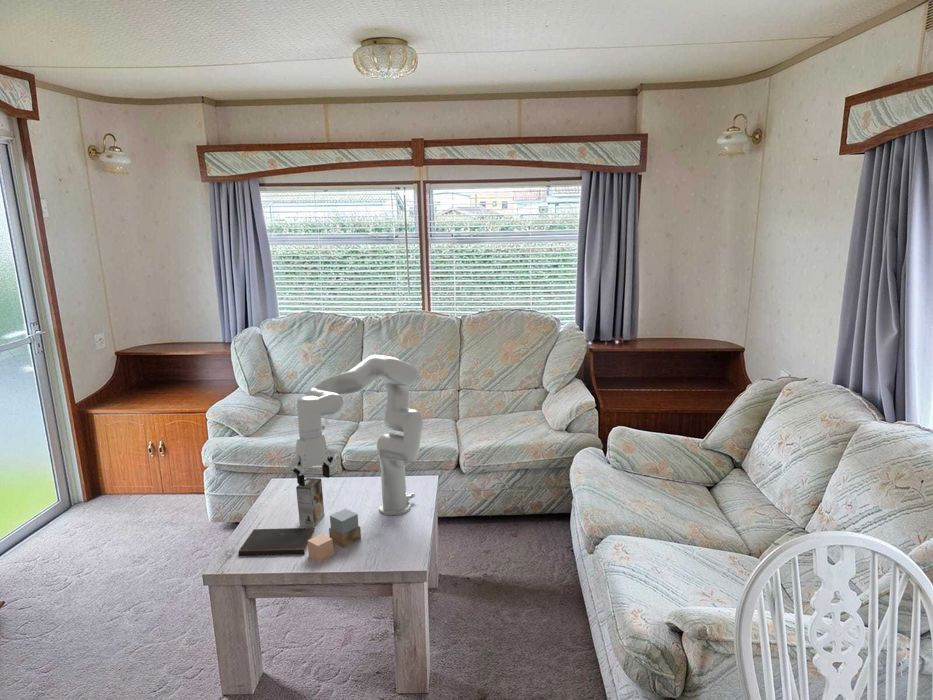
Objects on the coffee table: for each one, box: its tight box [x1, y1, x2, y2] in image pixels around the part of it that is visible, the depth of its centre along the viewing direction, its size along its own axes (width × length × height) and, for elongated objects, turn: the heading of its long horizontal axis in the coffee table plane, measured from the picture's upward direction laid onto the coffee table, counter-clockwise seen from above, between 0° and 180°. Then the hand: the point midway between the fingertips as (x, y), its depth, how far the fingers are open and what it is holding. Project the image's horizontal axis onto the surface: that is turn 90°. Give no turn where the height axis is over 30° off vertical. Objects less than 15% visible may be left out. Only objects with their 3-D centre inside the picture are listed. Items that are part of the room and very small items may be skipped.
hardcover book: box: [237, 527, 316, 557], centre depth 215 cm, size 16×23×2 cm
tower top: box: [329, 508, 359, 534], centre depth 215 cm, size 7×7×5 cm
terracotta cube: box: [307, 533, 334, 563], centre depth 206 cm, size 6×6×6 cm
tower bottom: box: [328, 525, 362, 548], centre depth 216 cm, size 8×8×5 cm
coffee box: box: [295, 477, 325, 528], centre depth 230 cm, size 9×6×16 cm
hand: (314, 480), depth 202 cm, fingers open, 9 cm apart
